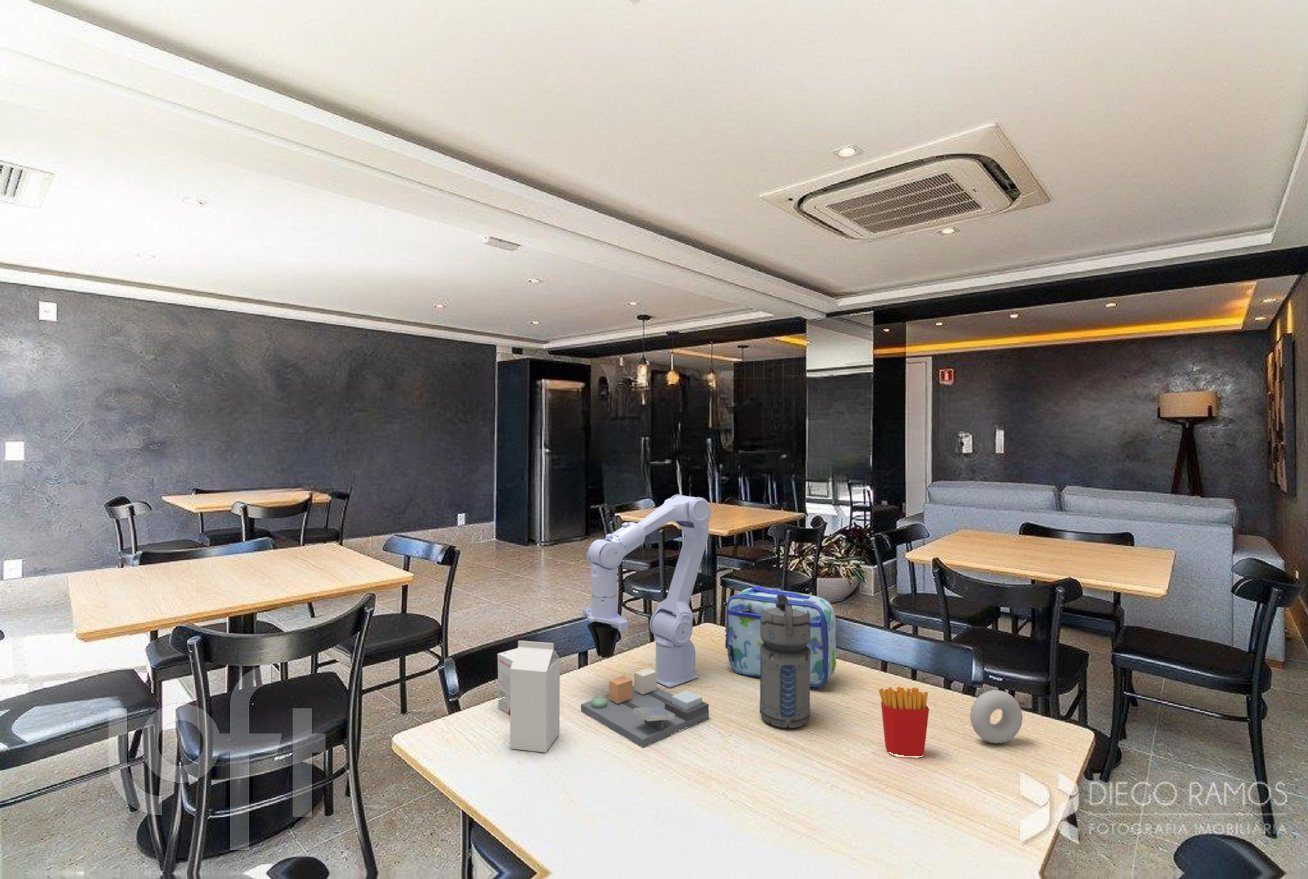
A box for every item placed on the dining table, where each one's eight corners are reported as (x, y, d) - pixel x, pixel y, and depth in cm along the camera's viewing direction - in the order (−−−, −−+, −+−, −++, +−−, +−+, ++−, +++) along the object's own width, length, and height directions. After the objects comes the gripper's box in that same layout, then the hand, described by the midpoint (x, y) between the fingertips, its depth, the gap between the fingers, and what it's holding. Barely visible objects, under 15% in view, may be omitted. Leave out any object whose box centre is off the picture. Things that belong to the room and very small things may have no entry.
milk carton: (546, 753, 111) (546, 649, 111) (509, 749, 113) (510, 647, 113) (559, 735, 118) (560, 637, 118) (525, 731, 120) (525, 634, 120)
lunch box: (720, 672, 150) (720, 587, 150) (738, 659, 159) (738, 579, 159) (825, 697, 136) (826, 603, 136) (838, 680, 146) (839, 593, 146)
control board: (645, 688, 141) (645, 674, 141) (709, 718, 126) (709, 703, 126) (581, 711, 129) (581, 696, 129) (643, 747, 114) (643, 730, 114)
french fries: (923, 748, 114) (924, 684, 114) (930, 759, 110) (931, 693, 110) (876, 745, 115) (877, 682, 115) (881, 756, 111) (882, 690, 111)
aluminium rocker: (658, 711, 123) (659, 706, 123) (673, 719, 119) (674, 713, 120) (632, 713, 118) (633, 707, 118) (647, 721, 115) (648, 715, 115)
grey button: (686, 697, 129) (686, 690, 129) (701, 704, 125) (701, 697, 125) (671, 703, 126) (671, 696, 126) (686, 711, 122) (686, 703, 122)
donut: (977, 748, 114) (977, 695, 114) (965, 739, 117) (966, 687, 117) (1026, 746, 115) (1027, 693, 115) (1014, 737, 119) (1014, 685, 118)
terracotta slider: (623, 694, 133) (623, 675, 133) (632, 698, 131) (632, 679, 131) (608, 699, 130) (609, 680, 130) (617, 703, 128) (617, 684, 128)
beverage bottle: (803, 704, 132) (803, 589, 132) (814, 734, 119) (815, 606, 119) (756, 702, 133) (756, 588, 133) (762, 732, 120) (763, 605, 120)
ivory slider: (647, 685, 138) (647, 667, 138) (656, 689, 135) (656, 671, 135) (634, 690, 135) (634, 672, 135) (642, 694, 133) (643, 676, 133)
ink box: (539, 714, 127) (539, 657, 127) (518, 721, 124) (518, 663, 124) (517, 700, 134) (517, 647, 134) (496, 707, 130) (496, 652, 130)
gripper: (570, 591, 138) (570, 651, 138) (609, 604, 127) (609, 669, 127) (595, 586, 142) (595, 644, 142) (635, 598, 132) (635, 661, 132)
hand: (603, 655), depth 135 cm, fingers closed
